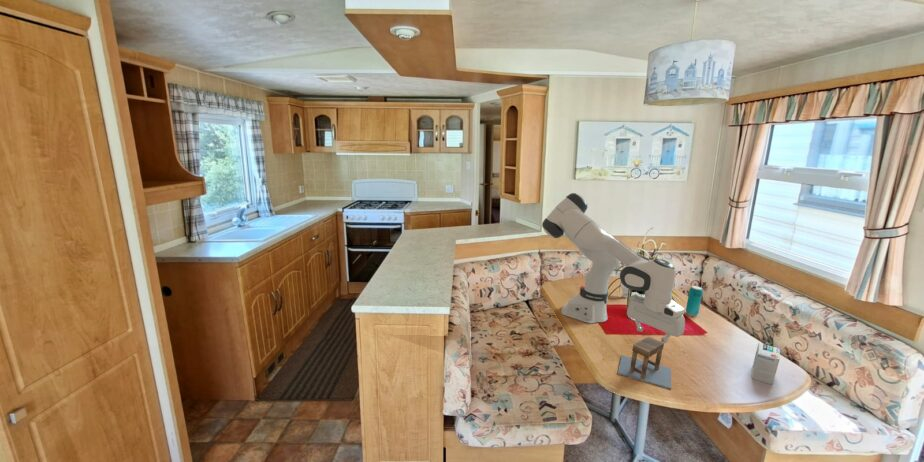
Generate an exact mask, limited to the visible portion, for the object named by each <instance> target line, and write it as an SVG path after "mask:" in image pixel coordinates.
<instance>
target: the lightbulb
mask: <svg viewBox="0 0 924 462" xmlns="http://www.w3.org/2000/svg"><path fill="white" fill-rule="evenodd" d="M619 284H620V285H621V286H620V289H621V290H622V298H624V299H626V298H628V295H629V292H628V288H626V287H625V286H624V285H623V284H622V282H621V281H620V283H619ZM627 294H628V295H627Z"/></svg>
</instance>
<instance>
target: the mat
mask: <svg viewBox="0 0 924 462" xmlns="http://www.w3.org/2000/svg"><path fill="white" fill-rule="evenodd" d="M631 360H632V356H631V357H629V356H627V355H621V357H620V361H619V367H618V371H617V375H620V376H624V377H626V378H627V377H628V378H630V379H633V380H637V381H641V382H644V383H648V384H651V385H653V386H656V387H657V386H658V387H660V388H661V387H662V388H665V389H668V390H672V368H671V367H667V366H663V365H660V366H659V370H658V371H657V370H655V369H654V368H655V366H654V365H652V364H650V363H648V365H647V371H646V377H645V379H642V378H641V374H639V373H638V372H636V371H634V373H631V372H630V366H631ZM642 366H643V359H641V360H640V359H638V358H637V359H636V365H635V368H637V369H639V370H641V371H642Z"/></svg>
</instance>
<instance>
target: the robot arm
mask: <svg viewBox="0 0 924 462" xmlns="http://www.w3.org/2000/svg"><path fill="white" fill-rule="evenodd" d="M587 209H588V203H587V200H586V199H585V198H584V197H583V196H581V195H579V194H578V193H575V192H571V193H570V194H568V195H566V197H565V198H564V199H562V200H561V201H560V202H559V203H558V204H557V205H556V206H555V207H554V209H552V210H551V212H550V213H549V214H548V216H547V217H546V218H545V219H544V220H543V221H542V223H541V226H542V229H543V231H544V232H545V233H546V234H547V236H549V237H550V238H554V239H559V238H561V237H562V236H565V237H566V238H568V240H569V241H571V243H572V244H574V245H575V247H576V248H577V249H578V250H579V251H580V252H581V254H582V255H583V256H584V257H585V258H586V259H588V260H589V261H591V262H592V263H591V268H590V270H588V271H587V272H586V274H585V276H584V277H585V278H584V279H585V280H584V285H583V284H582V285H581V286H580V287H579V293H578V294H575V295H574V296H571V297H570V298H569V300H568V301H567V303H566V304H564V305H563V306H562V308H561V311H560V312H561V314H562V315H563V316H566V317H568V318H571V319H575V320H578V321H580V322H584V323H587V324H594V323H595V324H596V323H604V322H606V321H607V320H608V312H607V303H608V300H609V299H608V298H609V291H608V290H609V284H610V278H611V275H612V272H614V270H615V269H617V268H618V267H619V266H620V265H621V263H622V264H624V265H625V266H624V267H623V268H622V269H621V271H620V273H619V279H620V283H621V282H622V284H623V285H624V286H625V287H626V288H628V289H631V290H630V291H639V292H644V297H643V296H639V295H636V294H632V295H630V297H629V303H628V307H627V310H626V311H627V312H626V315H627V316H628V318H631V319H633V320H634V322H635V325H636V331H637V332H638V333H643V331H644V327H643V326H642V324H645V325H647V326H649V327H652V328H654V329H657V330H659V331H661V332H663V333H665V335H663V336H662V337H661V338H660V339H661V340H660V342H662V343H664V344H667V343H668V339H669V338H670V337H672V336H673V337H676V338H678V337H680V336H682V335H684V333H685V328H686V318H685V316H684V314H685V312H686V308H684V307H683V306H681V305H680V304H678V303H677V302H676V301H675V300H673V293H672V292H673V289H675V288H674V287H675V281H676V268H675V266H674V264H673V263H671V262H670V261H668V260H666V259H661V258H653V259H651V258H649V257H645V256H642V255H640V254H638V253H637V252H635V251H634V250H632V249H631V248H629V247H628V246H627V245H626V244H625V243H623V242H622V241H620V240H619V239H618V238H616V237H615V236H613V235H612V234H610V233H609V232H608V231H606V230H605V229H604V228H602V226H600V224H598V222H595V220H593V219H592V218H591V217H589V216H588V215H587V214H585V213H586V211H587ZM641 323H642V324H641Z"/></svg>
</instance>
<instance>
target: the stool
mask: <svg viewBox="0 0 924 462" xmlns="http://www.w3.org/2000/svg"><path fill="white" fill-rule="evenodd" d="M664 346H665V343H663V342H661V340H657V339H655V338H653V337H651V336H647V337H646V338H643V339H641V340H639V341H638V342H636V343H634V344H633V346H632V352H631V353H632V354H631V358H632V360H631V366H630V372H631V373H634V371H636V372H638V373H639V374H641V378H642V379H645V377H646V371H647V365H648V363H650V364H652V365H654V366H655V368H654V369H655V370H657V371H658V370H659V366H661V360H662V353H663V350H664ZM638 355H640V356H642V357H643V359H642V361H643V366H642V371H641V370H639V369H637V368H635V365H636V359H638V358H637V356H638ZM654 355H655V356H656V357H655V361H653V360H650V357H652V356H654Z"/></svg>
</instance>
